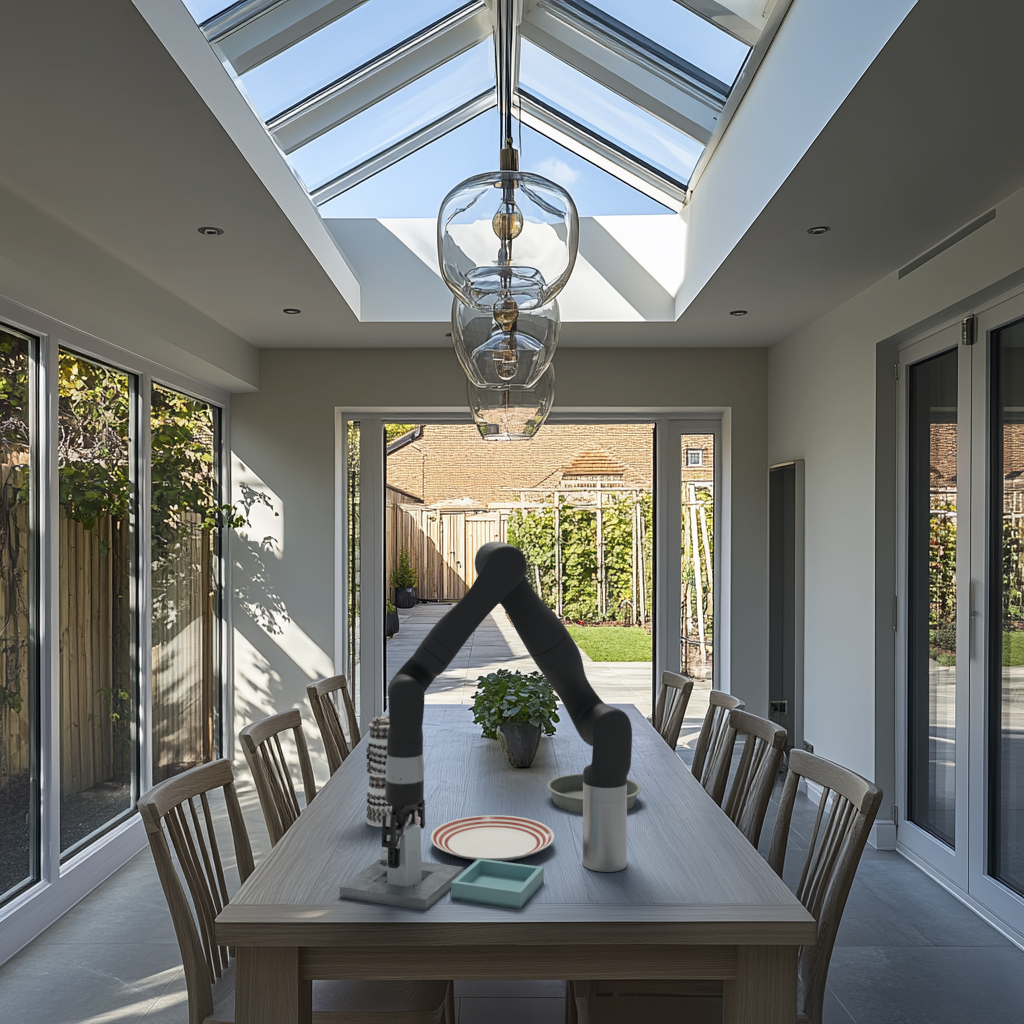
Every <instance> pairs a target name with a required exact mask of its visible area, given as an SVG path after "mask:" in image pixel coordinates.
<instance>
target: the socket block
mask: <svg viewBox="0 0 1024 1024" xmlns="http://www.w3.org/2000/svg"><path fill="white" fill-rule="evenodd" d="M464 871H465V869H464V866H459V865H450V864H443V863H437V862H430V861H429V862H428V861H422V860H421V873H422V882H421V883H420V884H418V885H417V886H416V887H415V888H413V887H406V886H399V885H392V884H387V883H386V882H387V849H386V850H382V851H381V852H380V853H379V859H378V860H377V861H375V862H374V863H372V864H370V865H369V866H367V867H366V868H365V869H363V870H362V871H360V872H358V874H356V875H354V876H353V877H351V878H350V879H349V880H347V881H345V882H344V883H343V884H341V885H340V886H339V898H343V899H349V900H356V901H360V902H361V901H362V902H368V903H373V904H381V905H386V906H392V907H393V906H394V907H400V908H405V909H413V910H418V911H428V910H429V908H430V907H432V906H433V905H434V904H435V903H436V902H437V901H439V900H440V899H441V898H442V897H443V896H445V894H446V893H448V892H449V891H451V882H452V881H453V880H454V879H456V878H457V877H458V876H459V875H460V874H461V873H462V872H464Z"/></svg>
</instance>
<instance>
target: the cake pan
mask: <svg viewBox="0 0 1024 1024" xmlns="http://www.w3.org/2000/svg"><path fill="white" fill-rule="evenodd" d="M546 787H547V789H548V791H550V792H551V793H550V794H551V797H552V801H553V803H555V804H556V806H557V807H558V806H559V808H561V809H563V808H564V809H563V810H566V809H567V811H570V810H571V811H570V812H574V811H576V812H575V813H581V812H583V773H576V774H565V775H562V776H558V777H555V778H552V779H551V780H549V781H548V782H547V784H546ZM640 792H642V787H641V785H640V784H639V783H638V782H636V781H634V780H632V779H629V778H627V809H628V810H630V809H631V807H632V808H633V807H634V806H635V803H636V799H637V796H638V794H640ZM555 804H554V805H555Z"/></svg>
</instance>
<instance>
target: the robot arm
mask: <svg viewBox="0 0 1024 1024" xmlns="http://www.w3.org/2000/svg"><path fill="white" fill-rule="evenodd" d="M527 566H528V564H527V560H526V556H525V554H524V553H523V552H522V551H521V550H520V549H519V548H518V547H516V546H514V545H512V544H509V543H507V542H504V541H503V542H502V541H489V542H487V543H484V544H482V545H481V546H480V547H479V549H478V550H477V552H476V555H475V556H474V570H475V572H476V575H477V577H476V578H475V580H474V582H473V584H472V585H471V586H470V588H468V589H469V590H468V591H467V592H466V593H465V594H464V596H463V597H462V598H461V599H460V600H459V601H458V602H457V603H456V604H455V605H454V606H453V607H452V608H451V609H450V610H449V611H448V612H446V614H444V615H443V616H442V617H441V618H440V619H439V620H438V621H437V622H436V623H435V625H434V626H433V627H432V628H431V629H430V631H429V632H428V634H426V636H425V637H424V639H423V640H422V641H421V643H420V644H419V645H418V647H417V648H416V650H415V651H414V653H413V654H412V655H411V657H410V658H409V659H408V660H407V661H406V662H405V663H404V664H403V665H402V667H401V668H400V669H398V671H397V672H396V673H395V675H394V676H393V677H392V679H391V680H390V681H389V684H388V687H387V697H388V716H389V730H388V738H387V761H386V782H385V800H386V802H387V803H389V804H390V805H391V806H392V810H391V815H384V816H383V821H382V827H381V828H382V829H381V847H382V848H386V849H387V848H388V867H389V868H398V867H399V866H400V848H399V847H400V844H401V841H402V838H404V837H405V830H406V829H407V828H408V826H409V825H411V824H415V825H418V826H421V829H425V827H426V807H425V806H426V803H425V802H426V801H425V797H424V793H425V792H424V791H425V790H424V789H425V762H424V761H425V760H424V731H423V724H424V712H425V692H426V691H427V690H428V688H429V687H430V686H431V684H432V683H433V682H434V680H435V679H436V677H437V676H440V675H442V674H443V672H444V671H446V669H447V668H448V666H449V665H450V664H451V662H453V660H454V659H455V657H456V656H457V654H458V653H460V650H462V647H463V646H464V645H465V643H467V640H469V638H470V637H471V636H472V635H473V633H474V632H475V631H476V629H478V627H479V626H480V624H481V623H482V622H483V621H484V620H485V619H486V618H487V617H488V615H489V614H490V613H492V611H493V610H494V609H495V608H496V606H498V605H499V604H500V605H501V606H502V608H503V609H504V611H505V613H507V616H508V618H509V620H510V621H511V623H512V625H513V628H514V629H515V632H516V633H517V635H518V636H519V638H520V640H521V642H522V643H523V645H524V646H525V648H526V650H527V652H528V653H529V655H530V656H531V659H532V660H533V661H534V664H535V665H536V667H537V668H539V670H540V672H541V673H542V674H543V676H544V677H545V680H546V681H547V682H548V684H549V685H550V687H551V688H552V689H553V691H554V692H555V693H556V694H557V696H558V697H559V699H560V700H561V702H562V704H563V706H564V707H565V709H566V712H567V713H568V716H569V718H570V719H571V721H572V723H573V726H574V728H575V729H576V732H577V733H578V735H579V737H580V738H581V739H582V741H583V742H585V744H587V745H589V746H590V747H592V752H591V753H592V754H591V755H592V756H591V763H590V764H589V765H588V764H587V765H586V766H585V767H584V768H583V772H582V774H583V813H582V865H583V867H585V868H586V869H587V870H591V871H594V872H595V871H596V872H601V873H613V872H618V871H622V870H625V868H626V867H627V859H628V858H627V852H628V851H627V848H628V847H627V846H628V842H627V841H628V839H627V838H628V833H627V832H628V823H627V822H628V817H627V816H628V810H627V779H628V775H629V773H630V770H631V766H632V765H631V764H632V751H633V727H632V722H631V719H630V718H629V716H628V714H627V713H626V712H625V711H624V710H621V709H620V708H617V707H613V706H610V705H608V704H607V703H605V702H604V701H603V700H602V699H601V698H600V696H599V695H598V694H597V692H596V691H595V689H594V688H593V687H592V685H591V684H590V682H589V680H588V678H587V676H586V675H587V674H586V672H585V667H584V663H583V659H582V654H581V652H580V649H579V647H578V646H577V645H578V644H577V643H576V642H575V640H574V639H573V637H572V635H571V634H570V632H569V631H568V629H567V628H566V626H565V625H564V623H563V622H562V621H561V619H560V618H558V616H557V615H556V614H555V613H554V612H553V610H552V609H551V608H550V607H549V606H548V605H547V604H546V603H545V602H544V601H543V599H541V598H540V596H538V594H537V593H536V592H535V590H534V589H533V588H532V586H531V584H530V583H529V580H528V579H527V577H526V574H527ZM400 829H402V830H401V831H396V830H400ZM387 835H388V839H387ZM396 837H397V840H396Z"/></svg>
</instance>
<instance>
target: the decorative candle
mask: <svg viewBox="0 0 1024 1024" xmlns="http://www.w3.org/2000/svg"><path fill="white" fill-rule="evenodd" d="M368 726H369V736H368V737H369V738H368V744H367V745H368V746H367V747H366V753H367V754H366V759H367V760H368V762H366V767H367V769H366V773H367V775H369V780H368V781H369V783H368V791H367V793H366V797H368V798H367V799H366V803H367V804H368V805H367V806H366V811H367V813H366V824H368V825H369V826H372V827H378V828H382V821H383V816H384V815H391V810H392V806H391V805H390V804H389V803H387V802H386V800H385V782H386V761H387V738H388V730H389V715H378V716H375V717H373V718H372V720H371V722H369V723H368Z"/></svg>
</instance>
